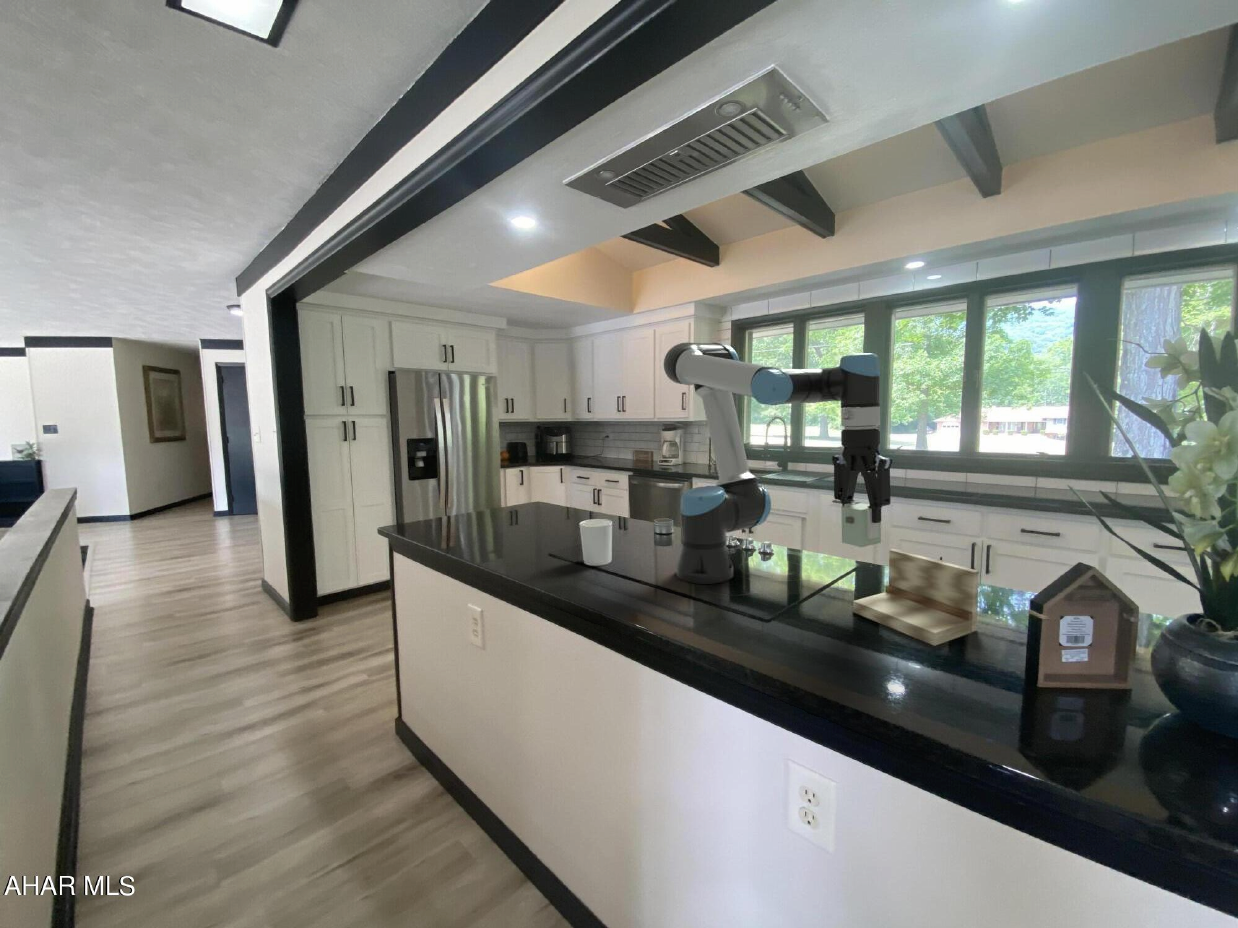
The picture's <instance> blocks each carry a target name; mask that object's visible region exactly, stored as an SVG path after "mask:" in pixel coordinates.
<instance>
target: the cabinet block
mask: <svg viewBox="0 0 1238 928" xmlns="http://www.w3.org/2000/svg"><path fill="white" fill-rule="evenodd" d="M867 506H870V504H868V503H863V502H860V503H856V504H854V505H848V506H842V505H841V508H840V509H841V543H842V544H847V545H851V546H854V547H858V548H865V547H868V546H873V545H877V544H878V545H879V544H881V543H882V521H881V522H880V523H879V537H876V538H871V539H869V538H867V512H866V508H868V507H867Z"/></svg>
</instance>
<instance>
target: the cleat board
mask: <svg viewBox="0 0 1238 928" xmlns="http://www.w3.org/2000/svg"><path fill="white" fill-rule="evenodd" d="M888 551H889V552H888V557H889V558H888V584H886V585H885V592H881V593H877V594H874V595H870V596H866V597H863V598H860V599H855V600H853V602H852V603H853V605H852V606H853V607H852V609H853V611H852V612H853V613H854V614H857V615H859V616H862V617H864V618H866V619H869V620H872V621H874V622H877V623H879V624H880V625H884V626H886V627H888V628H891V629H892V630H893V629H894V630H896V631H898V632H899V633H904V634H906V635H908V636H910V637H913V638H914V639H916V640H920V641H922V642H924V643H926V644H930V645H932V646H934V647H935V646H938V645H941V644H944V643H946V642H949V641H952V640H955V639H957V638H960V637H964V636H966V635H968V634H969V635H970V634H971V633H975V632H977V631H978V630H977V627H978V603H979V602H978V600H979V581H980V580H979V579H980V578H979V576H980V571H979V570H977V569H972V568H969V567H965V566H961V565H957V564H954V563H950V562H945V561H944V560H942V561H939V560H940V559H934V558H932V557H931V558H930V557H927V556H923V555H919V554H915V553H911V552H907V551H904V550H900V549H896V548H892V549H888Z"/></svg>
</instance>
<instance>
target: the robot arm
mask: <svg viewBox="0 0 1238 928" xmlns="http://www.w3.org/2000/svg"><path fill="white" fill-rule="evenodd" d="M879 361H880V360H879V357H878V355H877V354H876V353H870V352H869V353H856V354H855V353H854V354H848V355H843V356H842V357H841V358H840V361H839V365H838V366H835V367H834V366H833V367H824V368H823V367H822V368H779V367H773V366H768V365H763V364H757V363H753V362H751V363H750V362H746V361H740V358H739V356H738V354H737V352H736V350H735V349H734V348H733V347H732V346H730V345H729V344H726V343H719V342H680V343H677V344H676V345H674V346H671V348H670V349H669V350H668V351H667V352H666V354H665V355H664V359H663V370H664V373H665V375H666V376H667V378H668V379H669V380H671V382H673V383H675V384H680V385H684V386H693V387H694V393H695V395H696V396H697V397H700V398H701V399H702V404H703V408H704V409H703V410H704V414H705V418H706V423H707V427H708V432H709V437H710V441H711V447H712V449H713V455H714V460H715V465H716V469H717V475H718V481H717V482H716V483H715V485H705V486H697V487H694V488H691V489H688V490H686V491H685V492H684V493H682V495H681V499H680V508H679V510H680V511H679V512H680V515H681V517H680V518H681V520H680V521H681V523H680V524H681V550H680V553H679V557H678V560H677V564H676V565H675V566H676V577H677V578H678V579H680V580H682V581H684V582H687V583H692V584H702V585H711V584H719V583H724V582H727V581H729V580H731V579H732V578H733V577H734V566H733V563H732V561H731V557H730V554H729V552H728V549H727V533H731V532H732V533H733V532H736V531H740V530H746V529H747V530H748V529H753V528H755V527H757V526H760V525H762V524H764V523H765V522H766V521H767V520H768V517H769V516H770V513H771V511H772V510H771V509H772V498H771V496H770V493H769V491H768V490H767V489H766V488H765V486H762V485H760V484H759V482H758V477H757V476H756V475H754V474H753V473H751V472H750V467H749V464H748V459H747V455H746V450H745V446H744V441H743V435H742V432H741V427H740V422H739V419H738V414H737V409H736V405H735V401H734V396H733V394H735V395H736V394H738V395H741V396H746V397H749V398H753V399H755V400H756V402H757V403H758V404H761V405H768V406H780V405H790V404H816V403H825V402H840V426H841V427H842V428H844V429H842V430H841V431H840V438H841V439H840V442H841V444H840V445H841V446H842V447H843V450H842V453H841V454H837V455H832V457H831V461H832V464H833V498H834V500H837V501H840V503H841V507H842V506H848V505H854V504H857V503H856V502H855V501H856V499H854V498H855V497H854V496H855V492H856V486H857V482H858V477H859V475H861V477H863V481H864V486H865V490H866V495H867V499H868V502H869V505H870V506H867V507H868V508H866V512H867V538H869V539H871V538H876V537H879V523H880V522H881V523H882V508H883V507H885V506H890V505H891V502H892V501H891V467H892V464H893V459H892V458H891V457H884V456H882V455H881V453H880V451H879V447H880V445H881V430H880V428H877V427H878V426H881V407H880V406H881V405H880V383H881V382H880V381H881V380H880V379H881V378H880V377H881V372H880V362H879Z"/></svg>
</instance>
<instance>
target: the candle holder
mask: <svg viewBox="0 0 1238 928" xmlns="http://www.w3.org/2000/svg"><path fill="white" fill-rule="evenodd" d="M578 525H579V529H580V530H579V532H580V540H581V549H582V558H583V559H582V560H583V563H584V564H585V565H587V566H591V567H592V566H595V567H598V566H604V565H608V564H610V563H611V562H612V557H613V555H612V553H613V551H612V550H613V521H612V520H611V519H606V518H592V519H586V520H583V521H580V522H579V524H578Z"/></svg>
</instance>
